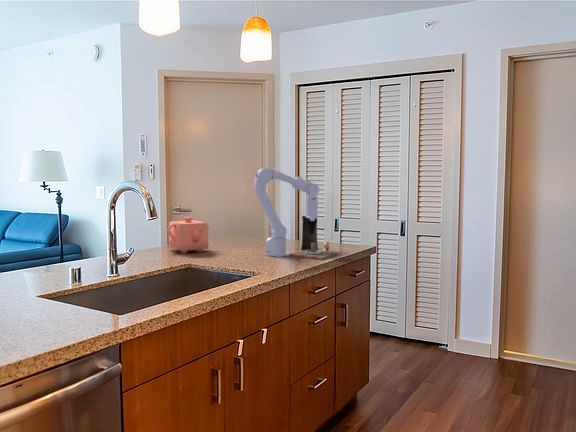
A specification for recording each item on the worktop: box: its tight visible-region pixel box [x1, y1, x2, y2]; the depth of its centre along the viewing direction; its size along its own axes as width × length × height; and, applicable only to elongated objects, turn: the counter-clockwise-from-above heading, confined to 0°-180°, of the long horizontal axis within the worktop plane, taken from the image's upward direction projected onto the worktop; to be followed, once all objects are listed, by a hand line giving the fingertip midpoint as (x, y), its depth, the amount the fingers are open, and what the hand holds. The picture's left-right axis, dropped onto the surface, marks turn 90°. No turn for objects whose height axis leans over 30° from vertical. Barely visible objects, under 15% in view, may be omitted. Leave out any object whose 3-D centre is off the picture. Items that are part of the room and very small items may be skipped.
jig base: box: [288, 243, 339, 261], centre depth 256 cm, size 18×18×6 cm
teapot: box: [166, 216, 210, 254], centre depth 266 cm, size 25×23×18 cm
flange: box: [305, 241, 331, 254], centre depth 256 cm, size 12×8×5 cm, turn 109°
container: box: [300, 215, 319, 251], centre depth 276 cm, size 9×9×18 cm
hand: (311, 234), depth 259 cm, fingers closed
